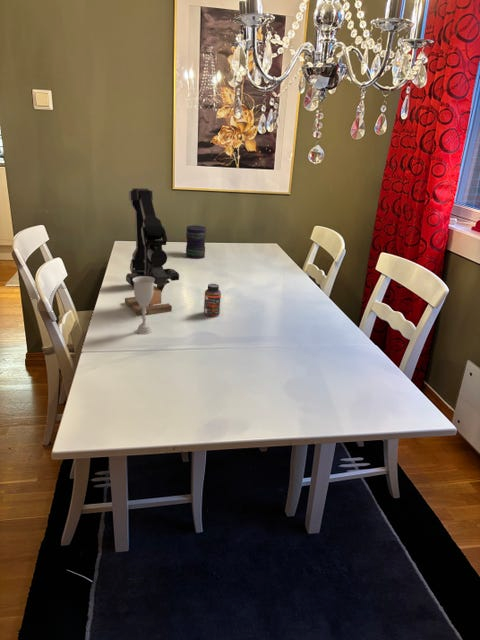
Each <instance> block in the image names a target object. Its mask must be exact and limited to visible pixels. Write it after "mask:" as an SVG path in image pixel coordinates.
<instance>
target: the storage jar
mask: <svg viewBox="0 0 480 640" xmlns="http://www.w3.org/2000/svg"><path fill="white" fill-rule="evenodd" d="M206 229H207V227H206V226H202V225H195V224H193V225H187V226H186V234H185V235H186V237H185V238H186V246H185V247H186V248H185V257H186V258H188V259H192V260H201V259H204V258H205V257H206V237H207V233H206V232H207V231H206Z"/></svg>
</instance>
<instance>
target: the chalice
mask: <svg viewBox="0 0 480 640" xmlns="http://www.w3.org/2000/svg"><path fill="white" fill-rule="evenodd" d="M132 280H133V282H134V286H133V295H134V297H136V300H137V302H138V304H139V305H140V307H142V308H143V310H142V314H143V315H142V316H140V317H141V319H142V322H141V323H140V324H138V327H137V329H136V333H137V334H140V335H149V334H151V333H152V332H153V330H152V327H151V326H150V324H149V323H147V315H146V313H147V312H146V307H147V306H150V304H149V303H150V301H151V299H152V296H153V286H154V281H155V278H153V277H149V276H139V277H135V278H133V279H132Z"/></svg>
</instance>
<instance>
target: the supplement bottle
mask: <svg viewBox="0 0 480 640" xmlns="http://www.w3.org/2000/svg"><path fill="white" fill-rule="evenodd" d="M203 299H204V301H203V304H204V305H203V314H204V315H205V316H207V317H211V318H212V317H218V316H219V315H220V314H221V299H222V292H221V290H220V285H219V284H217V283H208V285H207V289H205V290H204V298H203Z"/></svg>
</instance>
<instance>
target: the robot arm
mask: <svg viewBox="0 0 480 640" xmlns="http://www.w3.org/2000/svg"><path fill="white" fill-rule="evenodd" d="M153 196H154V193H153V190H150V189H148V188H142V187H141V188H135V187H134V188H133V187H132V188H131V190H129V191H128V201H130V206H131V208H133V211H134V220H135V221H134V225H135V249H134V251H133V253H132V256H131V257H132V258H131V260H130V263H129V270H130V273H126V276H125V281H126V283H128V285H130V286H133V287H134V282H133V280H132V279H133V278H135V277H139V276H149V277H153V278H155V281H154V283H153V285H156V287H157V288H158V289H160V290H161V294H162V292H163V291H164V287H165V286H166V285H167V284H170V281H174V282H175V281H179V280H180V274H179V272H178V271H176V270H175V269H173V268H164V267H163V266H164V265H165V264H166V263H167V261H168V255H167V253H166V251H164V249H163V246H167V242H168V237H167V232H166V229H165V227H164V226H163V224H162V222H161V221H162V220H161V219H159V218H158V217H157V216H156V212H155V208H154V203H153V201H154V197H153Z"/></svg>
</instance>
